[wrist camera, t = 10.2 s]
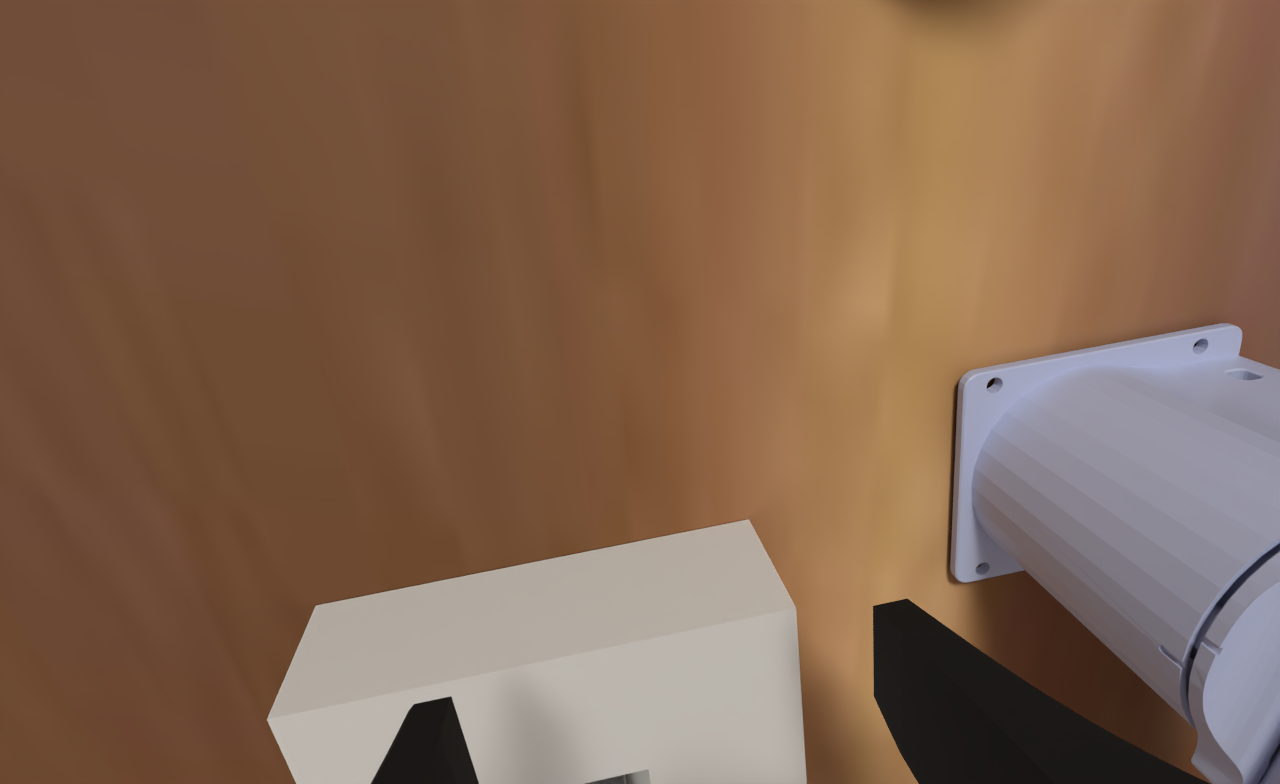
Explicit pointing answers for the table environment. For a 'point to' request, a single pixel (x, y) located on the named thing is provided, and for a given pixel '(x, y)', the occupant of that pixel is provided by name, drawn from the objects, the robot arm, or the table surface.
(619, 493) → the table surface
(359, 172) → the table surface
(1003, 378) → the robot arm
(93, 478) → the table surface
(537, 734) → the hole block
